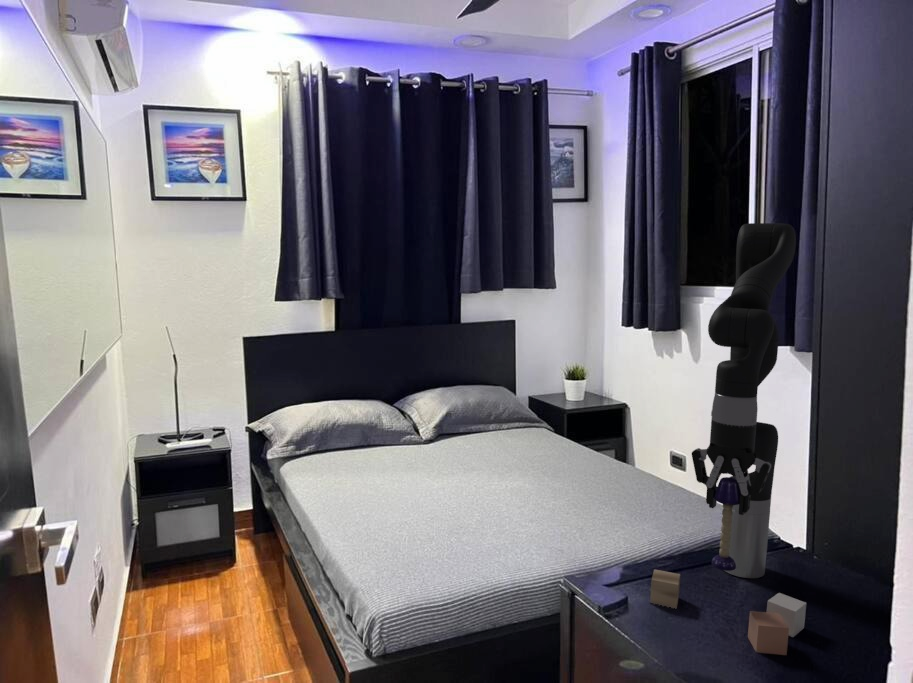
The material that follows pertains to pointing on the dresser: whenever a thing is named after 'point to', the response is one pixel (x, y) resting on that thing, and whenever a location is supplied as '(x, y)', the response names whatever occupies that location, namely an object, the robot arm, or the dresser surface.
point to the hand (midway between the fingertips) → (726, 509)
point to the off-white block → (788, 611)
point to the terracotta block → (768, 633)
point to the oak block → (665, 588)
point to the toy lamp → (726, 521)
